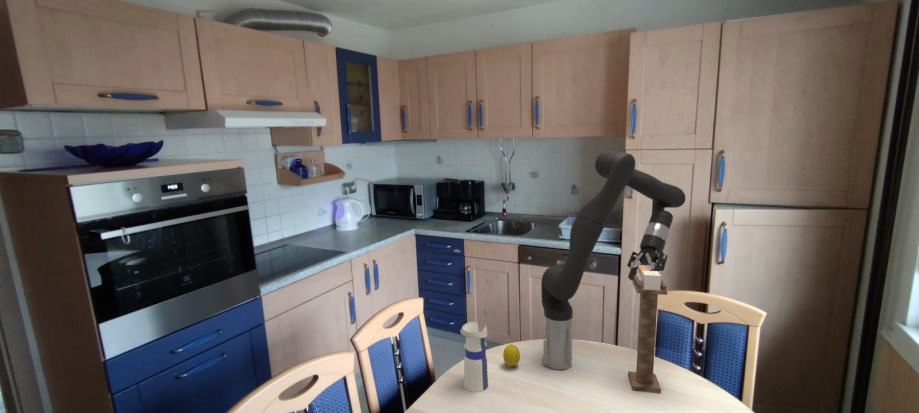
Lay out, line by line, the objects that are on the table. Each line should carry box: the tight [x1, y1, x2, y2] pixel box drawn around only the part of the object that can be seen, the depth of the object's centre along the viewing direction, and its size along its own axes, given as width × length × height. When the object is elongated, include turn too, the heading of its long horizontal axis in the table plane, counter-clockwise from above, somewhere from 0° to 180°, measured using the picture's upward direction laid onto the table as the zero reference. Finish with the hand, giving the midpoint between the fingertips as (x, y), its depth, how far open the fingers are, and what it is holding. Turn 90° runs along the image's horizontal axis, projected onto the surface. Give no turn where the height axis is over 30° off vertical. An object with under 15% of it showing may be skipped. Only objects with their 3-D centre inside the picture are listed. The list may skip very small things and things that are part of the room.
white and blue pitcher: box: [460, 306, 490, 393], centre depth 131 cm, size 8×9×25 cm
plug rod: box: [637, 265, 662, 291], centre depth 129 cm, size 4×16×4 cm, turn 167°
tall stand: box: [627, 275, 668, 394], centre depth 128 cm, size 8×8×33 cm
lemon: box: [502, 343, 521, 368], centre depth 142 cm, size 6×6×8 cm
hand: (640, 280), depth 145 cm, fingers open, 8 cm apart
